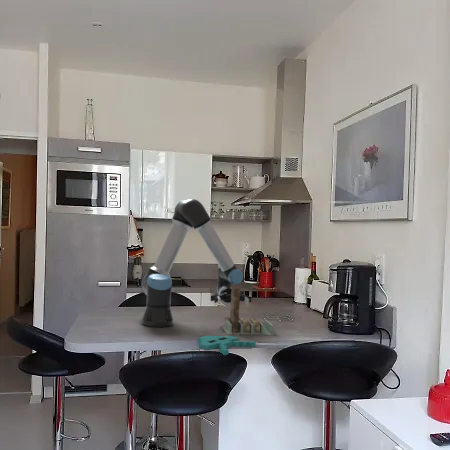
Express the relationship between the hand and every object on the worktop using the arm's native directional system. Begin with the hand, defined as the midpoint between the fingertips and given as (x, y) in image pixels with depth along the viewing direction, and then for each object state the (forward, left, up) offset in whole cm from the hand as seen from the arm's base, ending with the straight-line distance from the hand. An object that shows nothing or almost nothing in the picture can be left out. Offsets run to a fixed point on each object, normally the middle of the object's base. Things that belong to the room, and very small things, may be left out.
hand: (233, 301), depth 219 cm
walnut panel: (-1, -5, -12) cm, 13 cm away
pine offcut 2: (+9, -6, -12) cm, 16 cm away
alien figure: (-12, -26, -14) cm, 32 cm away
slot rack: (+6, -5, -13) cm, 16 cm away
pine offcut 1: (+4, -5, -12) cm, 14 cm away
